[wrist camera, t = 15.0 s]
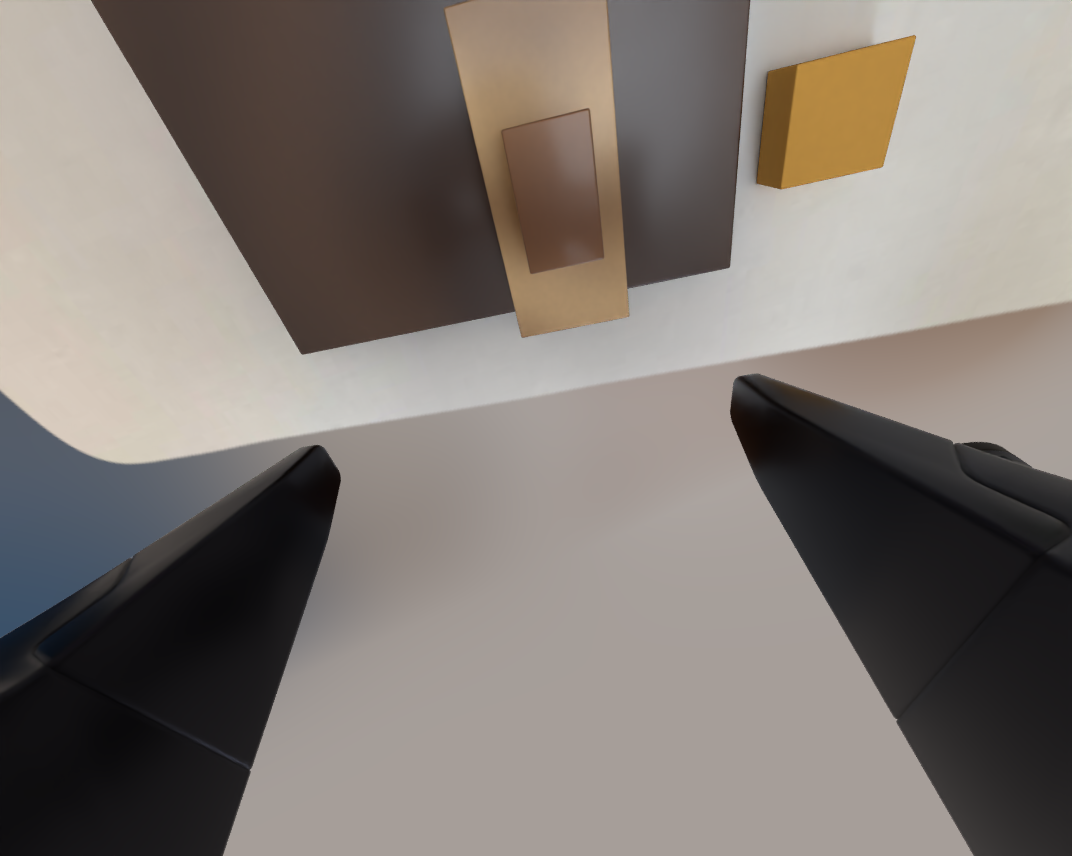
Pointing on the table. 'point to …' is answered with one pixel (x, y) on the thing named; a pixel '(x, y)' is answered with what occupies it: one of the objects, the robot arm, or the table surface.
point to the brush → (547, 153)
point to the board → (419, 149)
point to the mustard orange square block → (831, 114)
